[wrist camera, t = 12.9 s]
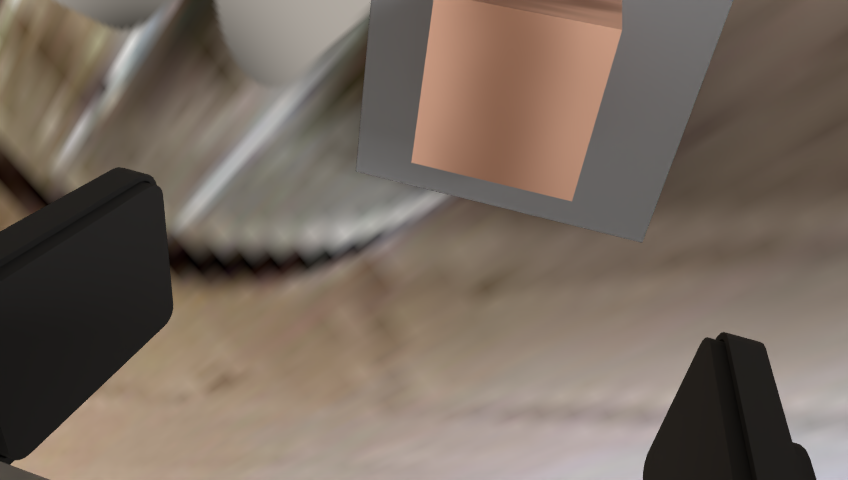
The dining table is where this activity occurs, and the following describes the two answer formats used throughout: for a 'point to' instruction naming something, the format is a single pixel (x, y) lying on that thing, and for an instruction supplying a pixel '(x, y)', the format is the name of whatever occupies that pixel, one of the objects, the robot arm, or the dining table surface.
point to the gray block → (613, 130)
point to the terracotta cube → (515, 89)
